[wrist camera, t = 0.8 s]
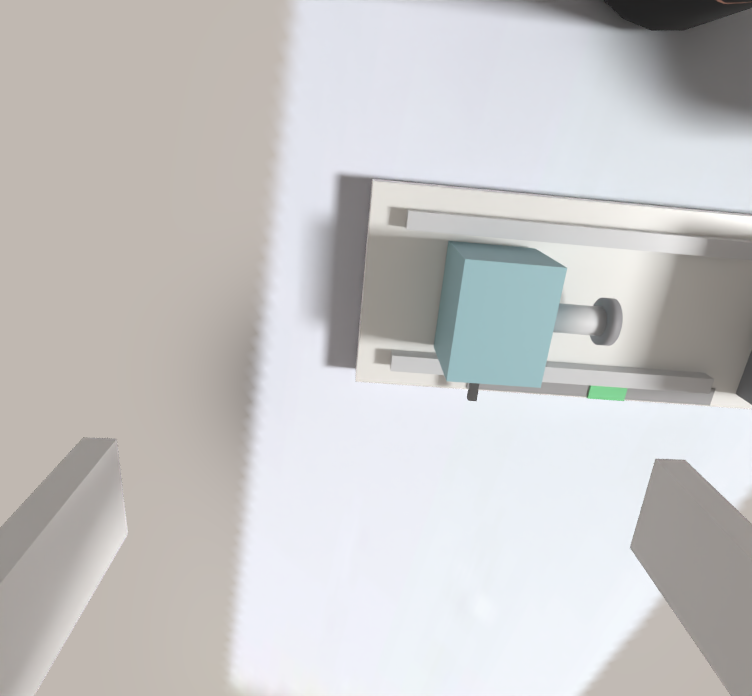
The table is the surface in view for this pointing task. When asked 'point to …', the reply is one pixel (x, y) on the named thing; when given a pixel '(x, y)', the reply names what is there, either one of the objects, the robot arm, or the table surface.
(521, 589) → the table surface
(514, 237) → the board
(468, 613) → the table surface
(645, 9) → the coffee jar
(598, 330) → the gauge slider
